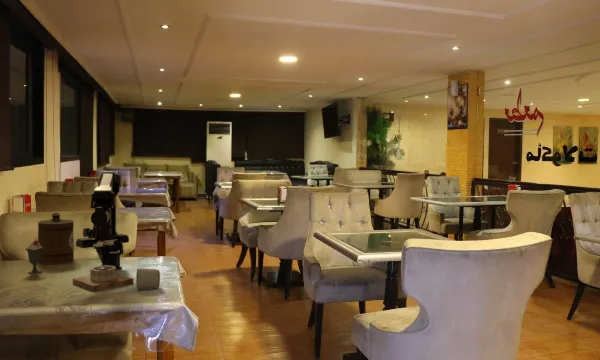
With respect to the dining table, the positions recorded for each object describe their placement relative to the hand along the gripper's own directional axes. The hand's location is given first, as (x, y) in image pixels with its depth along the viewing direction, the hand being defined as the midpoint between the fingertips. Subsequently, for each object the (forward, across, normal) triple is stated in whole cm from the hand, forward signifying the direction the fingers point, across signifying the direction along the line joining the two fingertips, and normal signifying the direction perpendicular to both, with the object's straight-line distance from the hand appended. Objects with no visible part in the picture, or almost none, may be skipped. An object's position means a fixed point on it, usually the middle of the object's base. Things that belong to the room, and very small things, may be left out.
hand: (103, 263), depth 198 cm
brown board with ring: (+8, 0, 0) cm, 8 cm away
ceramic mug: (+8, -8, +17) cm, 20 cm away
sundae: (+8, +11, -35) cm, 37 cm away
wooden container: (+8, -5, -52) cm, 53 cm away
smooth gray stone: (+6, 0, 0) cm, 6 cm away
